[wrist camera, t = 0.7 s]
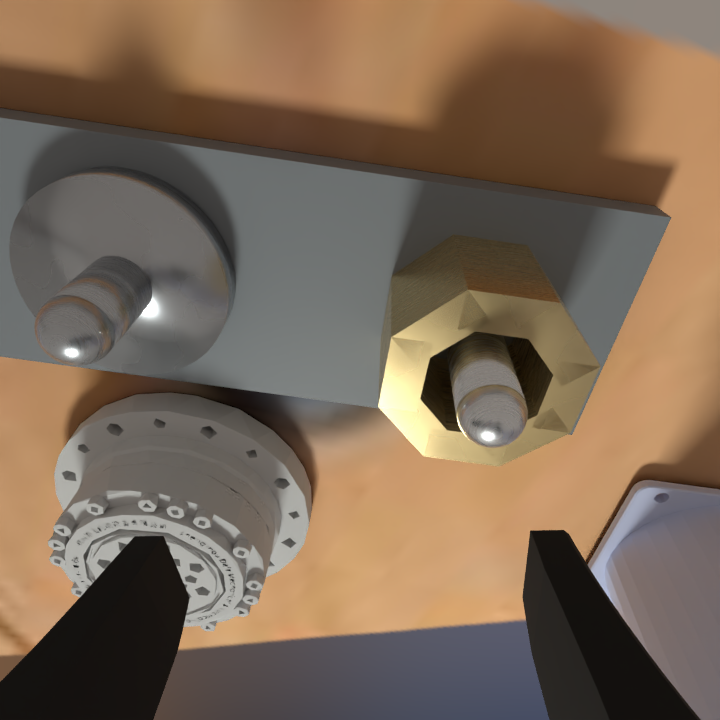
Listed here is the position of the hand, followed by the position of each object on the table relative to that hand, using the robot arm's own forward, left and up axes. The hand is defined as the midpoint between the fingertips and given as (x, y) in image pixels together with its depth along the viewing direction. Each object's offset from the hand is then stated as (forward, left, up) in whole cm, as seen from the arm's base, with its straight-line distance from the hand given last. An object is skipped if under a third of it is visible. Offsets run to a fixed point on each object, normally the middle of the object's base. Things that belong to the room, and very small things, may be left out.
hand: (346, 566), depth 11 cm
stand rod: (-3, -2, -8) cm, 8 cm away
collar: (-3, -2, -8) cm, 8 cm away
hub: (+7, -2, -8) cm, 11 cm away
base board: (+3, -2, -9) cm, 9 cm away
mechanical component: (+6, +8, -9) cm, 14 cm away
